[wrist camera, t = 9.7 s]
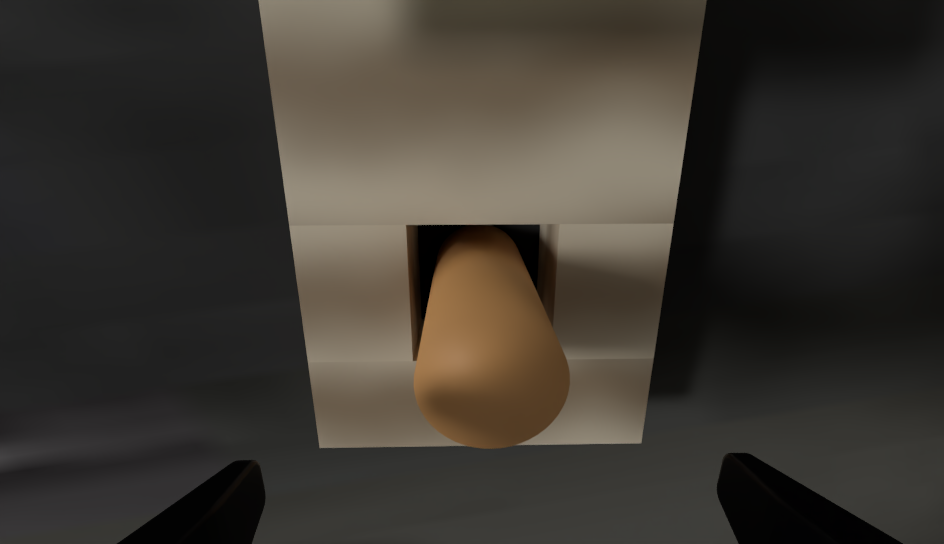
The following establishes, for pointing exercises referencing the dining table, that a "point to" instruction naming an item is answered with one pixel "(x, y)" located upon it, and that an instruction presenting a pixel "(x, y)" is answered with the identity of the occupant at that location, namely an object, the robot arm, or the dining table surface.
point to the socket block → (480, 185)
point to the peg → (487, 346)
